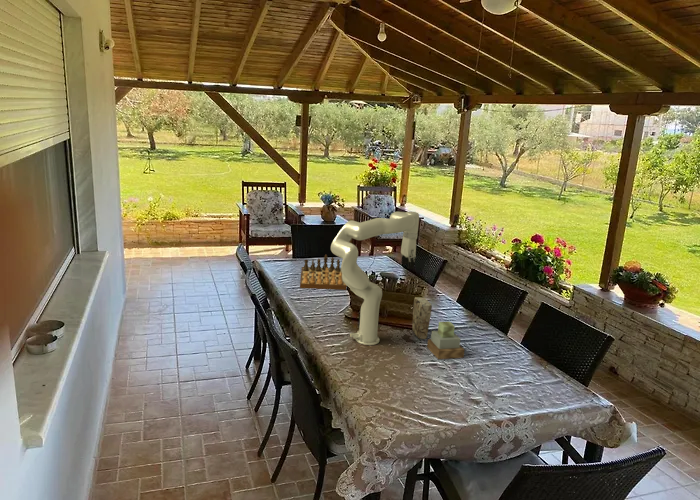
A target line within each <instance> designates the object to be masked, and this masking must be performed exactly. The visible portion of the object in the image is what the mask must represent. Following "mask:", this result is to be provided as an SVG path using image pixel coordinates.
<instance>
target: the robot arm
mask: <svg viewBox="0 0 700 500" xmlns="http://www.w3.org/2000/svg"><path fill="white" fill-rule="evenodd" d="M419 221H420V214H419V212H416V211H393V212H392V213H391V214H390V215H389V218H385V217H375V218H372V219H369V220H366V221H365V220H364V221H362V222H359V221H356V220H348V221H347V222H346V223H345V224H344V225H343V226H342V227H341V228H340V230H339V231H338V233H337V235H336V236H335V237H334V239H333V240H332V242H331V244H330V251H331V253H332V254H333V255H335V256H336V257H339V258H341V259H342V261H341V263H340V268H341V272H342V280H343V282H344V283H345V284H346V285H347V286H348V287H349V288H350V290H349V291H351V292H352V293H354V294H355V295H356V296H357V297H359V298H361V299H363V302H362V304H361V306H360V315H359V327H358V328H359V329H358V330H357V332H355V333H354V332H353V333H352V332H351V333H349V336H350V338H353V339H355V341H356V342H357V343H358V344H360V345H365V346H375V345H377V344H379V342H380V338H379V336H378V328H379V327H378V324H379V315H380V314H379V313H380V304H381V301H382V297H383V290H382V288H381V287H380V285H378V284H376V283H375V282H371V281H370V278H369V276H368V275H367V273H366V272H365V271H364V270H363V269H362V268H361V267H360V266H359V264H358V262H357V261H358V259H359V258H358V257H359V251H358V250H359V249H358V247H357V246H356V245H355V244H354V243H352V242H350V241H351V240H352V239H354V240H357V241H364V240H367V239H368V240H369V239H370V238H373V237H377V236H380V235H390V234H392V235H393V234H400V233H402V241H401V249H400V254H401V262H400V263H401V264H402V265H403V264H404V265H406V264H407V269H408V270H414V269H415V261H416V257H417V255H416V254H417V253H416V252H417V250H416V249H417V239H418V233H419V232H418V231H419Z"/></svg>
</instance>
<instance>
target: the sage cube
mask: <svg viewBox="0 0 700 500" xmlns="http://www.w3.org/2000/svg"><path fill="white" fill-rule="evenodd" d="M437 331H438V334H439V335H440V336H441V337H442V338H447V337H454V333H455V325H454V324H453V323H452V322H451V321H439V322H438V326H437Z"/></svg>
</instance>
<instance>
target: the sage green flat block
mask: <svg viewBox="0 0 700 500" xmlns="http://www.w3.org/2000/svg"><path fill="white" fill-rule="evenodd" d="M430 334H431V335H430V339H431V341H432V342H433V343H434V344H435V345H436V346H437V347H438V348H439V349H451V348H460V346H461V337H459V336H458V335H457V334H456V332H454V337H447V338H442V337H441V336H440V335H439V334H438V330H431V333H430Z"/></svg>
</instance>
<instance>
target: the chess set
mask: <svg viewBox="0 0 700 500" xmlns="http://www.w3.org/2000/svg"><path fill="white" fill-rule="evenodd" d="M328 259H329V257H328V255H327V254H325V255H324V256H323V265H322V267H321V264H322V263H321V259H320V258H317V260H316V262H317V263H315V262H314V261H315V260H314V259H312V261H311V265H310V266H309V260H308V259H304V261H303V262H304V265H303V266H301V272H300V281H299V288H300V289H311V290H312V289H314V290H316V289H317V290H334V291H335V290H337V291H338V290H339V291H343V290H344V291H347V290H346V287H347V285H346V284H345V283H344V282H343V280H342V272H341V261H340V259H337V260H336V265H337V266H336V267H335V265H334V264H335V258H334V257H333V256H332V257H331V258H330V265H329V266H330V267H329V266H328V263H329V262H328ZM316 264H317V265H316Z"/></svg>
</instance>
